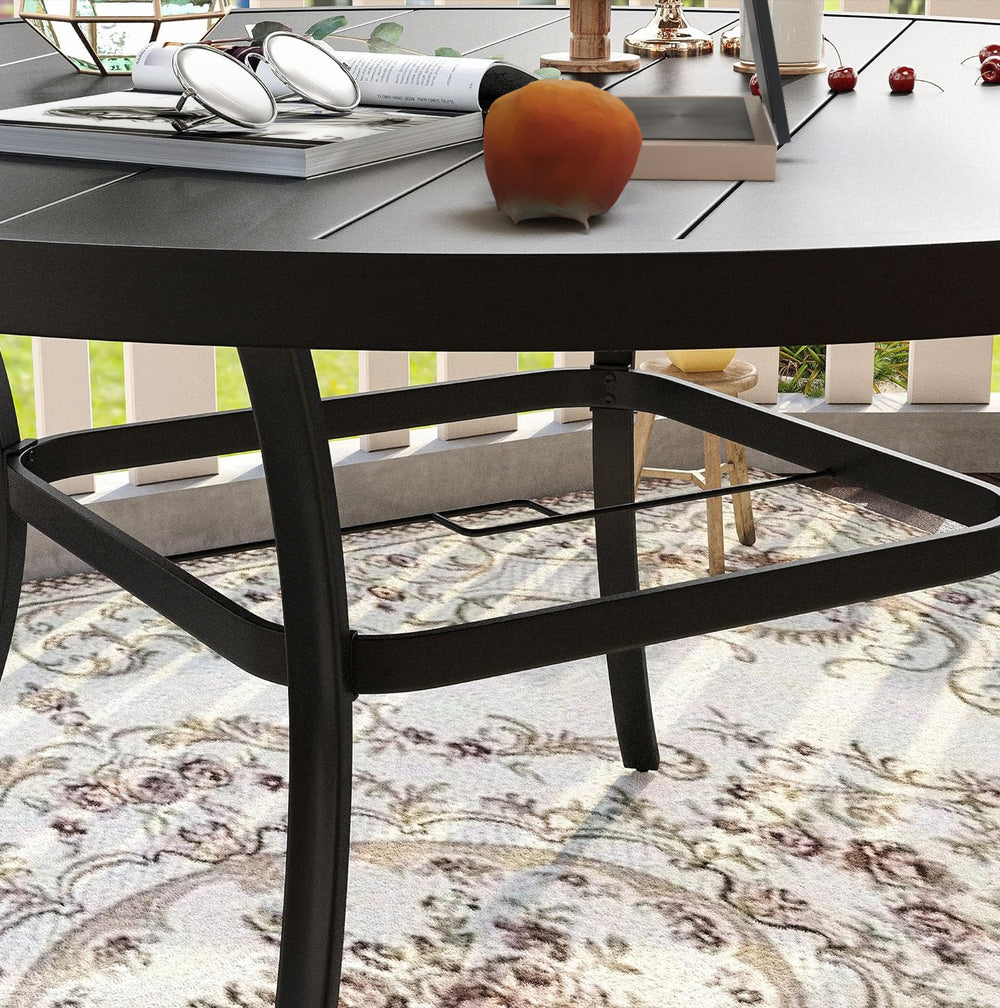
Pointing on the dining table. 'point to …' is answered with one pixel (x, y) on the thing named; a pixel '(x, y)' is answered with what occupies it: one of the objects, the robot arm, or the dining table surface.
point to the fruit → (559, 150)
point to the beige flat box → (703, 138)
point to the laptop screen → (767, 66)
